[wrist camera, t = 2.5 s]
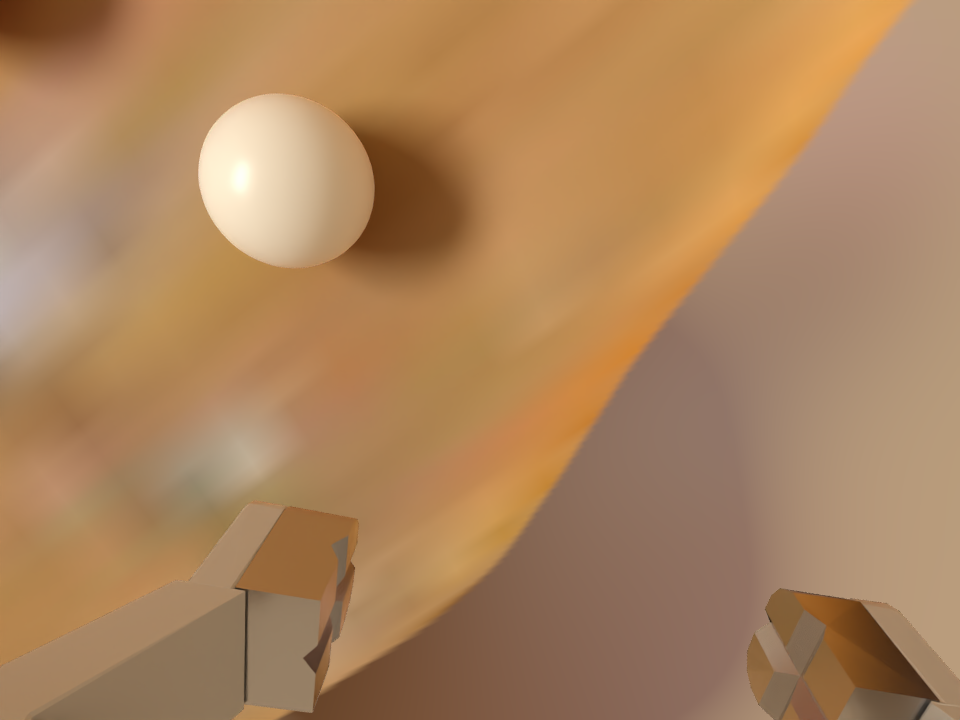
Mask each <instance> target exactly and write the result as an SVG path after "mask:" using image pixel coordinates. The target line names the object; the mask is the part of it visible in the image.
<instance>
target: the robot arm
mask: <svg viewBox="0 0 960 720" xmlns="http://www.w3.org/2000/svg"><path fill="white" fill-rule="evenodd" d="M358 530H359V522H358V519H355V518H350V517H345V516H339V515H334V514H329V513H323V512H318V511H313V510H307V509H302V508H297V507H291V506H290V507H287V506H284V505H278V504H272V503H267V502H261V501H253V502H251V503H249V504H247V505H246V506H245V507H244V508H243V510H242V511H241V512H240V514H239V515H238V516H237V518H236V519H235V520H234V522H233V523H232V524H231V526H230V527H229V528H228V530H227V531H226V532H225V534H224V535H223V536H222V537H221V539H220V540H219V541H218V543H217V544H216V545H215V547H214V548H213V549H212V551H211V552H210V553H209V555H208V556H207V557H206V559H205V560H204V561H203V563H202V564H201V565H200V567H199V568H198V569H197V570H196V572H195V573H194V574H193V576H192V577H191V578H190V580H189V581H181V580H175V581H173V582H171V583H169V584H167V585H165V586H163V587H161V588H159V589H157V590H155V591H153V592H151V593H149V594H147V595H145V596H142V597H140V598H138V599H136V600H134V601H132V602H130V603H128V604H126V605H124V606H122V607H120V608H118V609H116V610H114V611H112V612H110V613H108V614H106V615H104V616H102V617H100V618H98V619H96V620H94V621H92V622H90V623H88V624H86V625H84V626H81V627H79V628H77V629H75V630H73V631H71V632H69V633H67V634H65V635H63V636H61V637H59V638H57V639H55V640H53V641H51V642H49V643H47V644H45V645H43V646H41V647H39V648H37V649H35V650H33V651H31V652H29V653H27V654H25V655H22V656H20V657H18V658H16V659H14V660H12V661H10V662H8V663H6V664H4V665H2V666H0V720H232V719H233V718H234V717H235V716H236V715H238V714H239V713H240V712H241V711H242V710H243V709H244V704H247V705H255V706H263V707H270V708H278V709H286V710H294V711H302V712H310V713H312V712H313V710H314V707H315V704H316V702H317V699H318V696H319V693H320V690H321V688H322V685H323V682H324V679H325V676H326V674H327V671H328V668H329V663H330V653H331V643H332V642H334V641H335V640H336V639H338V638H339V637H340V634H341V631H342V628H343V625H344V622H345V618H346V615H347V611H348V607H349V603H350V599H351V594H352V588H353V582H354V573H355V567H354V565H353V564H352V562H351V559H352V556H353V554H354V551H355V548H356V546H357V543H358ZM765 610H766V613H767V615H768V618H769V620H770V623H768V624H767V625H765V626H764V627H762V628H761V629H759V630H758V631H756V632H755V633H754V635H753V638H752V640H751V643H750V646H749V648H748V651H747V673H748V677H749V681H750V685H751V689H752V691H753V693H754V695H755V698H756V700H757V702H758V705H759V706H761V708H762V709H764V710H765V711H766V712H767V713H768V714H769V715H770V716H771V717H772V718H773V719H774V720H960V680H959V679H958V678H957V677H956V676H955V674H954V673H953V672H952V671H951V670H950V669H949V668H948V666H947V665H946V664H945V663H944V662H943V661H942V660H941V658H940V657H939V656H938V655H937V654H936V653H935V651H934V650H933V649H932V648H931V647H930V646H929V645H928V643H927V642H926V641H925V640H924V639H923V638H922V636H921V635H920V634H919V633H918V632H917V631H916V630H915V628H914V627H913V626H912V625H911V624H910V623H909V622H908V620H907V619H906V618H905V617H904V616H903V615H902V614H901V612H900V611H898V610H897V609H895V608H893V607H892V606H890V605H888V604H887V603H881V602H873V601H866V600H859V599H852V598H851V599H844V598H838V597H832V596H825V595H819V594H813V593H807V592H800V591H794V590H788V589H781V588H780V589H779V590H777V591H776V592H775V593H774V594H773V595H772V596H771V597H770V599H769V602H768V604H767V606H766V608H765Z"/></svg>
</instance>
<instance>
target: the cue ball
mask: <svg viewBox="0 0 960 720" xmlns="http://www.w3.org/2000/svg"><path fill="white" fill-rule="evenodd" d="M198 176H199V186H200V191H201V195H202V198H203V201H204V205H205V207H206V209H207V211H208V213H209V215H210V217H211V219H212V220H213V222H214V224H215V225H216V226H217V228H218V229H219V230H220V232H221V233H222V234H223V235H224V236H225V237H226V238H227V239H228V240H229V241H230V242H231V243H232V244H233V245H234V246H235V247H237V248H238V249H239V250H241V251H242V252H244V253H245V254H247V255H249V256H250V257H252V258H254V259H256V260H259V261H261V262H264V263H267V264H269V265H273V266H278V267H284V268H307V267H313V266H317V265H320V264H323V263H326V262H329V261H331V260H333V259H335V258H337V257H338V256H340V255H341V254H343V253H344V252H345V251H347V250H348V249H349V248H350V247H351V246H352V245H353V244H354V243H355V242H356V241H357V240H358V238H359V237H360V236H361V234H362V233H363V231H364V229H365V228H366V225H367V223H368V221H369V219H370V215H371V212H372V209H373V203H374V194H375V185H374V175H373V171H372V166H371V163H370V160H369V157H368V155H367V153H366V150H365V148H364V146H363V144H362V143H361V141H360V140H359V138H358V137H357V135H356V134H355V132H354V131H353V130H352V129H351V128H350V126H349V125H348V124H347V123H346V122H345V121H344V120H343V119H342V118H341V117H339V116H338V115H337V114H335V113H334V112H333V111H331V110H330V109H328V108H326V107H325V106H323V105H321V104H319V103H317V102H315V101H313V100H310V99H308V98H305V97H301V96H297V95H290V94H280V93H276V94H264V95H259V96H255V97H252V98H249V99H246V100H244V101H241V102H240V103H238V104H236V105H234V106H233V107H231V108H230V109H229V110H228V111H226V112H225V113H224V114H223V115H222V116H221V117H220V118H219V119H218V120H217V121H216V122H215V123H214V125H213V126H212V128H211V129H210V131H209V132H208V134H207V137H206V139H205V141H204V144H203V147H202V150H201V154H200V160H199V171H198Z"/></svg>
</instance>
